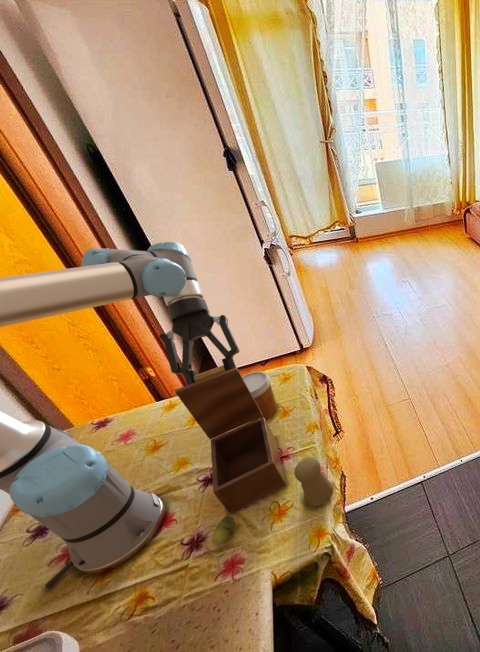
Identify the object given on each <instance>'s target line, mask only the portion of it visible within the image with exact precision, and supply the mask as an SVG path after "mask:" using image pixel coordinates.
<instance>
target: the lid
mask: <svg viewBox="0 0 480 652" xmlns="http://www.w3.org/2000/svg"><path fill="white" fill-rule="evenodd" d="M242 376H243V375H242V374H241V373H240V371H239V369H238V367H237V366H236V367H235V368H233V369H230V370H227V371H226V370H225V367H224V365H223V364H222V365H220V366H217V367H214V368H212V369H208V370H206V371H204V372H201V373H197V375H195V376H194V380H195V383H193V384H190V385H187V384H186V385H184V386H182V387H180V388H177V389H175V391H174V393H175V394H176V396H177V397H178V398H179V400H180V401H181V402H182V404H183V405H184V407H185V408H186V409H187V411H188V412H189V413H190V415H191V416H192V418H193V419H194V420H195V422H196V423H197V424H198V426H199V427H200V429H201V430H202V431H203V432H204V434H205V436H206V437H207V438H208V439H209V440H211V439H213V438H216V437H218V436H220V435H223V434H225V433H227V432H229V431H232V430H234V429H236V428H239V427H241V426H243V425H245V424H248V423H250V422H252V421H255V420H256V419H258V418H260V417H262V416H263V414H262V412H261V410H260V408H259V407H258V405H257V403H256V401H255V399H254V398H253V396H252V394H251V392H250V390H249V389H248V387H247V385H246V383H245V382H244V380H243V378H242Z"/></svg>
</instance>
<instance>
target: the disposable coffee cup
mask: <svg viewBox="0 0 480 652" xmlns="http://www.w3.org/2000/svg"><path fill="white" fill-rule="evenodd" d="M241 376H242V378H243V380H244V382H245V383H246V385H247V387H248V389H249V390H250V392H251V394H252V396H253V398H254V399H255V401H256V403H257V405H258V407H259V408H260V410H261V412H262V414H263V416H262V417H264V418H265V420H266V421H267V420H269V419H270V418H272V417H273V416H274V415H275V414H276V413H277V411H278V405H277V401H276V398H275V395H274V392H273V388H272V384H271V382H272V381H271V377H270V375H268V374H266V372H263V371H251V372H249V373H246V374H244V375H241ZM260 418H261V417H260ZM258 419H259V418H258ZM256 420H257V419H256Z"/></svg>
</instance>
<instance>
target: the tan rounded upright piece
mask: <svg viewBox="0 0 480 652" xmlns="http://www.w3.org/2000/svg"><path fill="white" fill-rule="evenodd" d="M321 469H322V467H321V462H320V461H319V459H317V458H316V457H314V456H307V457H303V458H302V459H301V460H300V461H299V462H297V464H296V465H295V467H294V477H295V479H296V480H297V481H299V482H300V484H301V487H302V491H303V495H304V498H305V502H306V503H307V505H309V506H310V507H319V506H320V507H321V506H322V505H324V504H325V503H327V502H328V501H329V500H330V499H331V497H332V495H333V492H334V485H333V484H332V483H331V481H330V480H329V479H328V478H327V476H326V475H325V473H324V472H323V471H322V470H321Z"/></svg>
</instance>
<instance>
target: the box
mask: <svg viewBox="0 0 480 652" xmlns="http://www.w3.org/2000/svg"><path fill="white" fill-rule="evenodd" d="M210 452H211V453H210V455H211V474H212V475H211V477H212V493H213V494H214V496H215V497H216V498H217V500H218V501H219V502H220V503H221V505H222V506H223V507H224V509H225V510H226V511H227V512H228V514H229V515H233V514H235V513H237V512H238V511H240V510H242V509H245V508H246V507H248V506H250V505H252V504H254V503H255V502H257V501H259V500H261V499H264V498H265V497H268V496H269V495H270V494H273V493H274V492H277V491H278V490H280V489H282V488H284V487H285V486H287V481H286V478H285V473H284V469H283V465H282V461H281V456H280V452H279V447H278V444H277V439H276V436H275V435H274V433H273V431H272V429H271V427H270V426H269V424H268V422H267V419H266V420H265V418H264V417H261V418H259V419H257V420H253V421H251V422H249V423H247V424H244V425H242V426H240V427H237V428H235V429H233V430H231V431H228V432H226V433H224V434H221V435H219V436H217V437H215V438H212V439H210Z"/></svg>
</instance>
